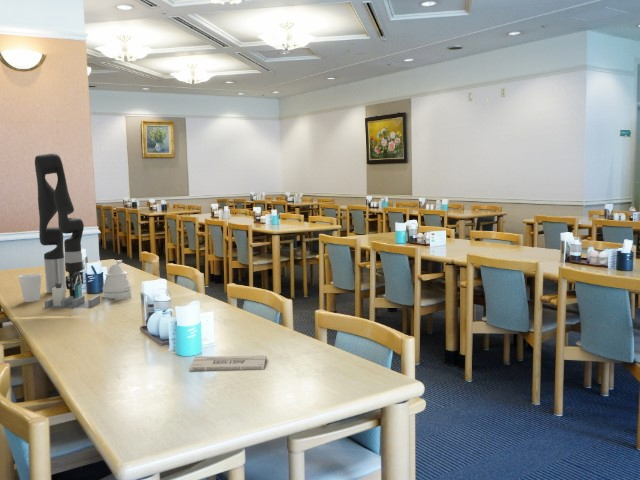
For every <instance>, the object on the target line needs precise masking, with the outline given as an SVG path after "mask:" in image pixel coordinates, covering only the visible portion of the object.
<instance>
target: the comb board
mask: <svg viewBox="0 0 640 480" xmlns="http://www.w3.org/2000/svg"><path fill="white" fill-rule="evenodd" d="M85 299H86V298H85V295H82V296H80V297H78V298H76V299H73V296H70V295H69V296H68V297H67V296H66V298H65V299H63V300H61V306H53V297H51V298H49V299H46V300H44V307H42V309H79V308H80V309H85V308H86V309H87V308H94V307H96V306H98V305H100V304H101V303H102V301H101V296H100V295H95V296H93V297H92V298H89V299H88V300H87V301H86V300H85Z"/></svg>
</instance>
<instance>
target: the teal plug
mask: <svg viewBox="0 0 640 480" xmlns="http://www.w3.org/2000/svg"><path fill="white" fill-rule="evenodd" d="M82 286H83V285H82ZM82 286H81V284H78V281H77V284H76V285H75V289H74V290H75V297H74V298H73V299H76V298H78V297H80V296H83V289H82V288H83V287H82Z"/></svg>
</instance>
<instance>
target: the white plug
mask: <svg viewBox="0 0 640 480" xmlns="http://www.w3.org/2000/svg"><path fill="white" fill-rule="evenodd" d="M51 295H52V296H51V297H52V298H53V306H61V300H63V299H65V298H67V296H66V291H65V287H61V283H55V287H54V288H52V293H51Z"/></svg>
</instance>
